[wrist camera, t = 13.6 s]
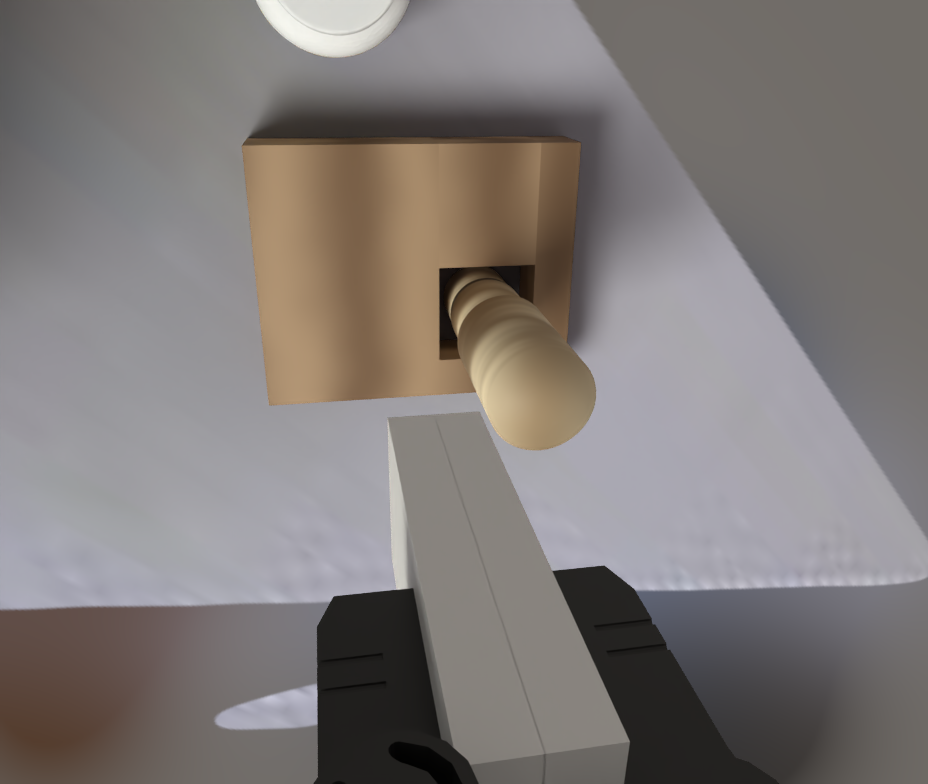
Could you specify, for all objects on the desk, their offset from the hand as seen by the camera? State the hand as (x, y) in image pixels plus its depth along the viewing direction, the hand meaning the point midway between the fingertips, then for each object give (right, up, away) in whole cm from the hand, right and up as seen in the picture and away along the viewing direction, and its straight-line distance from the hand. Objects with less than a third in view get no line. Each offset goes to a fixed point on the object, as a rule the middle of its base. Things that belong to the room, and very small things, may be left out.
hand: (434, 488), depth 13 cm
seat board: (-2, +9, +28) cm, 30 cm away
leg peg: (+1, +7, +30) cm, 31 cm away
